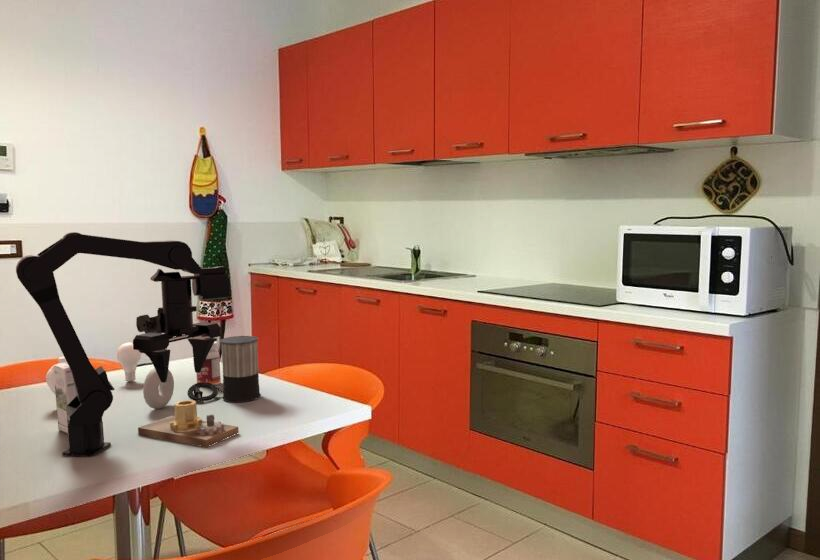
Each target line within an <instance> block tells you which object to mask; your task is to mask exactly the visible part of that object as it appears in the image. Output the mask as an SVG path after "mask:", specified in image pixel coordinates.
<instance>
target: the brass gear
mask: <svg viewBox="0 0 820 560" xmlns="http://www.w3.org/2000/svg"><path fill="white" fill-rule="evenodd" d="M173 404H174V416H175V419H174V421H173V422H170V429H172V428H173V431H178V430H181V431H188V430H191V429H198V427H197V426H200V424H202V423H203V422H202V421H203V418H200V416H198V411H197V410H198V409H197V401H195V400H192V399H189V400H187V399H185V400H180V401H176V402H175V403H173Z"/></svg>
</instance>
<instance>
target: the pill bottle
mask: <svg viewBox="0 0 820 560" xmlns="http://www.w3.org/2000/svg"><path fill="white" fill-rule="evenodd" d="M217 349H218V341H215V342H214V344H213V346H212V347H211V349H210V351H209V353H208V355H207V357H206V360H205V362H204V364H203V367H202V369H201V371H200V373H196V372H195V373H196V383H200V382H207V383H211V384H213V385H215V386H218V385H219V384H221V378H222V377H221V359H220V358H221V357H220V355H221V354H220V352H219V351H218V350H217Z"/></svg>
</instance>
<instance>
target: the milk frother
mask: <svg viewBox="0 0 820 560" xmlns="http://www.w3.org/2000/svg"><path fill="white" fill-rule="evenodd" d="M258 341H259V337H257V336H253V335H252V336H251V335H236V336H229V337H225V338H224V337H223V338H222V339H220V340H219V342H220V343H221V344H220V345H221V360H222V361H221V363H222V364H221V365H222V382H223V383H222V385H223V387H222V389H220V388H219V387H218V386H217V385H213V384H211V383H207V382H200V383H197V382H196V383H194V384H192V385H191V386H190V387H189V388H188V390H187V397H188V398H189V400H194V401H196V402H207V401H211V400H212V401H213V400H214V399H215V398H217V395H218V391H219V392H221V393H223V394H222V398H221V399H222V400H224V401H225V402H229V403H245V402H251V401H254V400H257V399H259V398H260V397H261V395H262V394H261V393H260V384H259V383H260V381H259V378H260V377H259V376H260V375H259V353H258ZM201 388H203V389H209V390H211V392H212V393H211V394H209V395H207V396H206V395H205V396H203V393H204V391H202V390H201Z"/></svg>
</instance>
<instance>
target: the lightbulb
mask: <svg viewBox="0 0 820 560" xmlns="http://www.w3.org/2000/svg"><path fill="white" fill-rule="evenodd" d="M115 354H116V360H117V361H118V363H119V364H120V365H121V366H122V370H123V371H124V374H125V375H124V378H125V380H124V381H125V382H128V383H133V382H134V381H136V377H137V375H136V371H137V366H138V363H139V362H140V360H141V358H142V353H140V352H139V350H133V342H131V341H130V342H124V343H123V344H121V345H119V346H118V348H117V350H116V353H115Z"/></svg>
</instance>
